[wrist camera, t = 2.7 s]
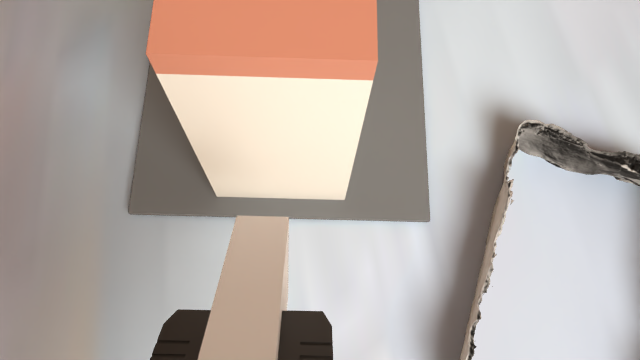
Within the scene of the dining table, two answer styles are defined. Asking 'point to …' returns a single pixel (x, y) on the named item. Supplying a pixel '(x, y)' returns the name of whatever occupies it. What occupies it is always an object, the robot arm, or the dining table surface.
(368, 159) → the charcoal mat
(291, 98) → the off-white block
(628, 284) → the dining table surface
